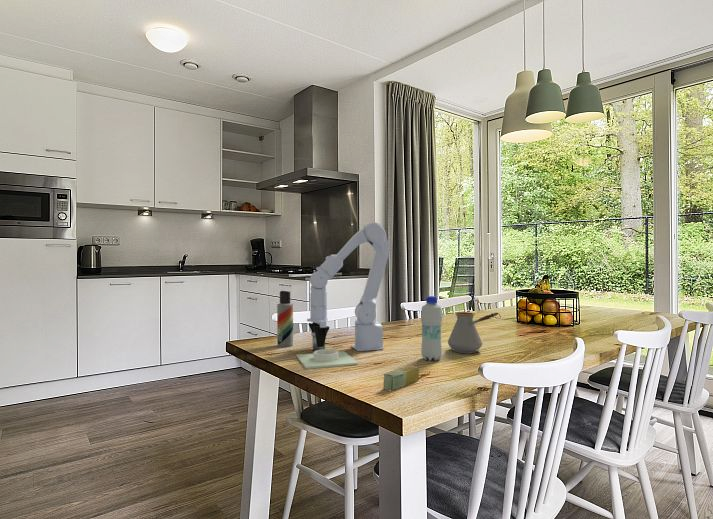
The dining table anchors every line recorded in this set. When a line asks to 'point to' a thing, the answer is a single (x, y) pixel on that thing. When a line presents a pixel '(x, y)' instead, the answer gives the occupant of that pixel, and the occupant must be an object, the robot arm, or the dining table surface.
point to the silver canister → (316, 343)
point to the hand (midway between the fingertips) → (318, 345)
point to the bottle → (431, 329)
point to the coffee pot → (466, 333)
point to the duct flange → (326, 359)
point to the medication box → (401, 377)
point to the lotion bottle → (285, 320)
